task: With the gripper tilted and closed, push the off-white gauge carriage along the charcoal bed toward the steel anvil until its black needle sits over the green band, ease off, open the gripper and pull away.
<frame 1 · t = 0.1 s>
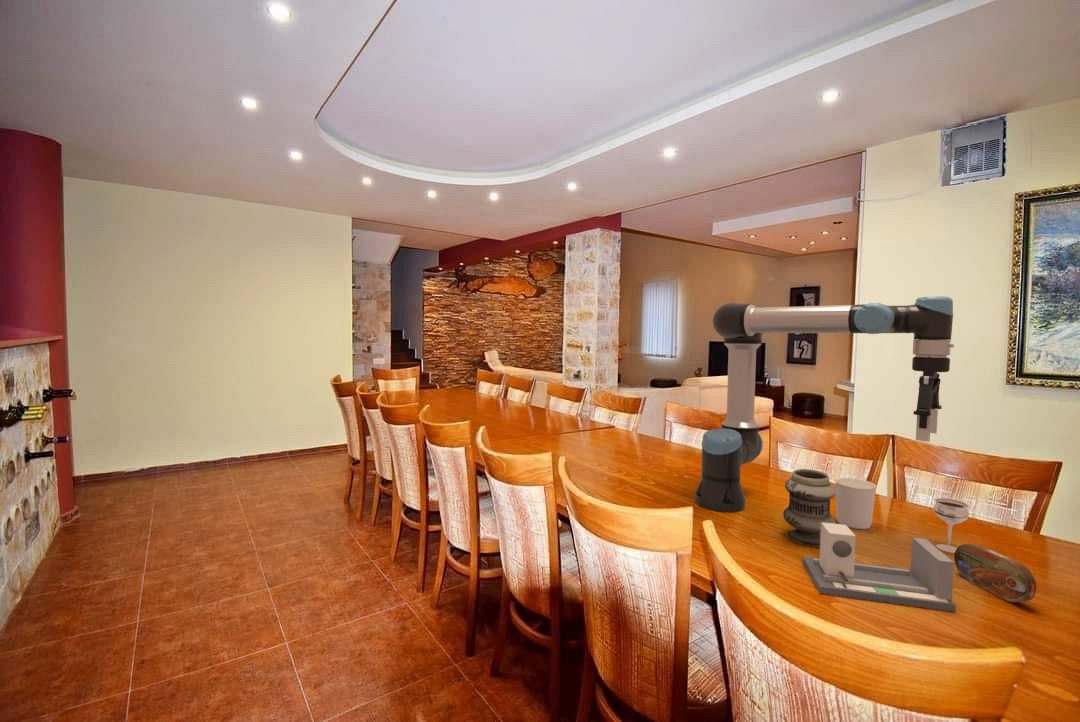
hand: (926, 436, 123), 28 cm above the table, tool pointing down, fingers open, 13 cm apart
tin: (991, 591, 101), on the table
gauge bed: (871, 584, 103), on the table
wineglass: (948, 549, 120), on the table
candle holder: (853, 523, 136), on the table
gauge carriage: (839, 554, 103), point 7 cm above the table, slide at 0.0 cm
apothecary jar: (807, 539, 126), on the table
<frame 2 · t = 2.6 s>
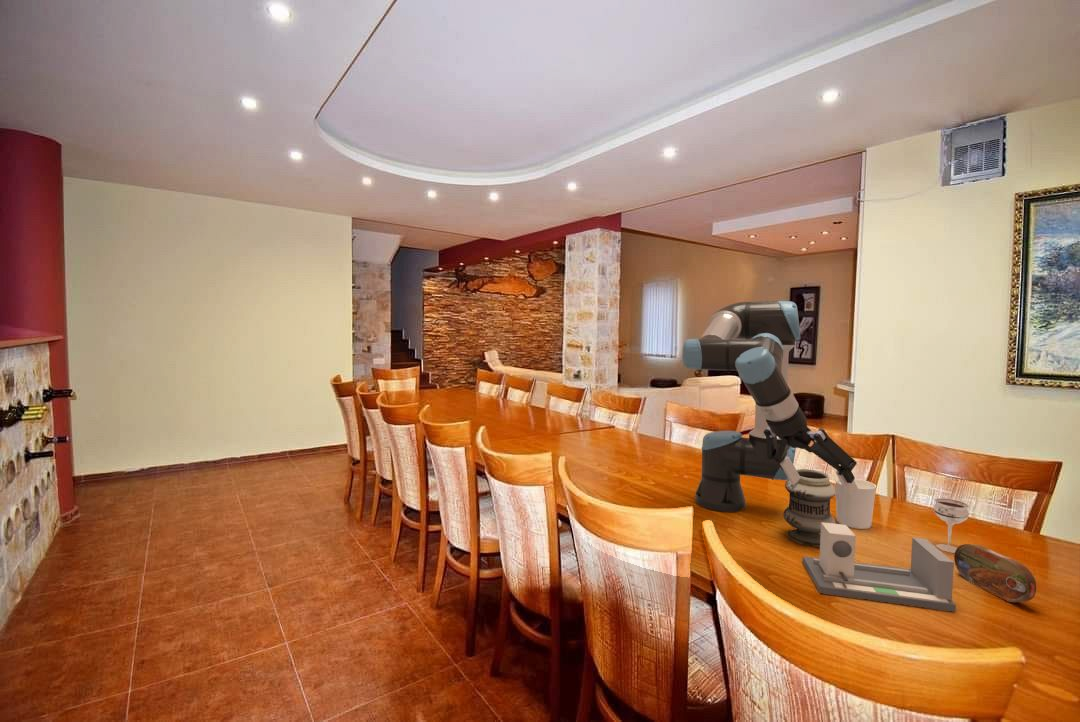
hand: (823, 486, 107), 20 cm above the table, tool tilted 35°, fingers open, 13 cm apart
nothing on the table moved.
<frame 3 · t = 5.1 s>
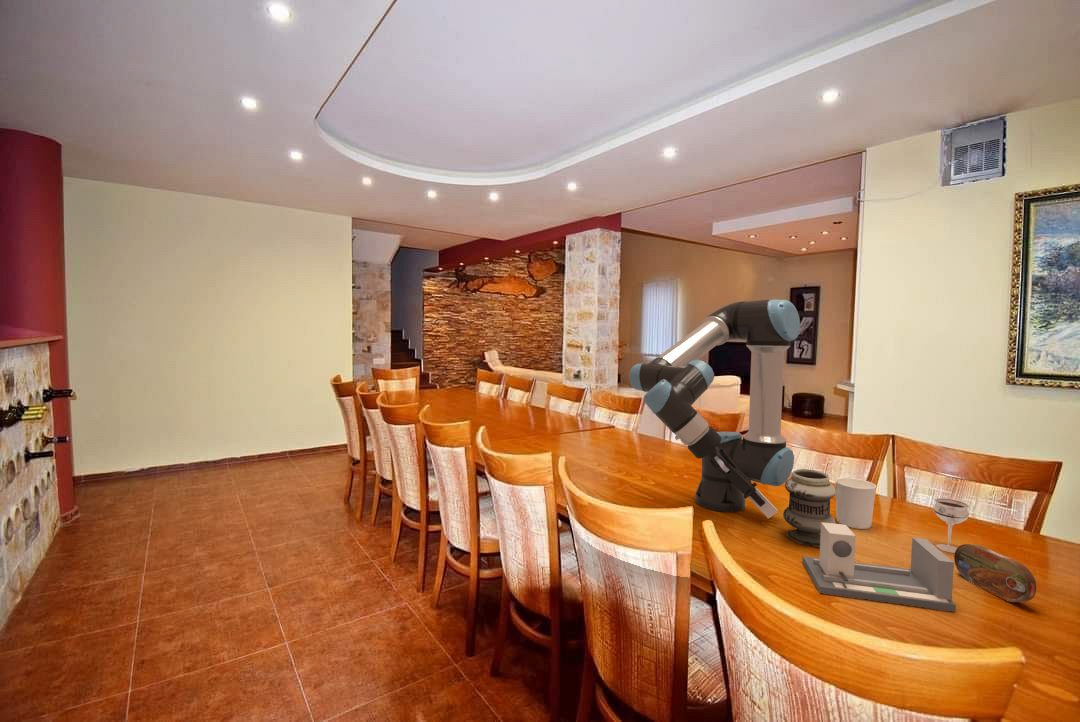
hand: (772, 513, 107), 14 cm above the table, tool tilted 45°, fingers closed
nothing on the table moved.
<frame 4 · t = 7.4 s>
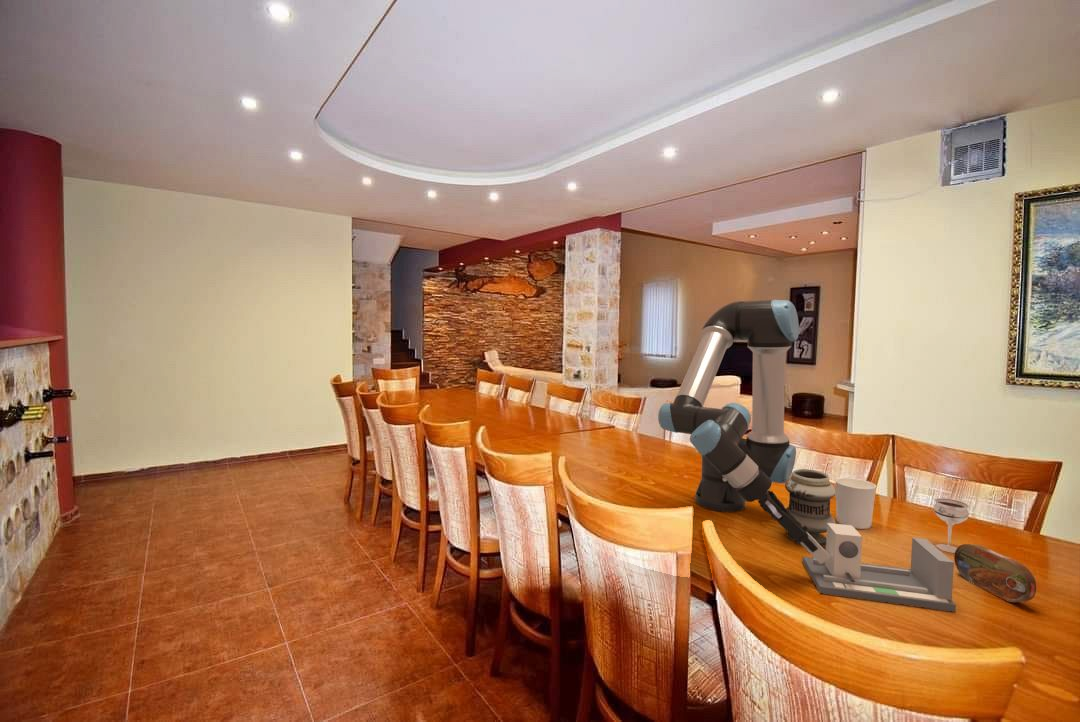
hand: (824, 559, 105), 5 cm above the table, tool tilted 45°, fingers closed
gauge carriage: (845, 554, 102), point 7 cm above the table, slide at 1.2 cm, touching gripper
everything else where it was.
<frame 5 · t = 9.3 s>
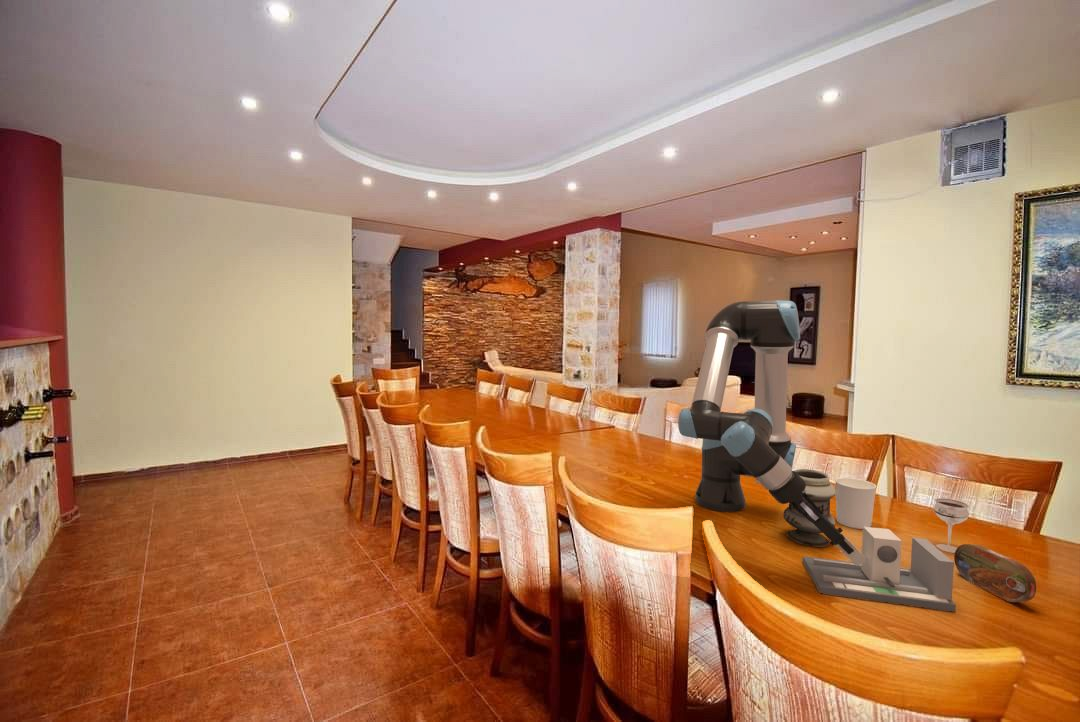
hand: (860, 561, 103), 5 cm above the table, tool tilted 45°, fingers closed
gauge carriage: (883, 559, 100), point 7 cm above the table, slide at 8.4 cm, touching gripper
everything else where it was.
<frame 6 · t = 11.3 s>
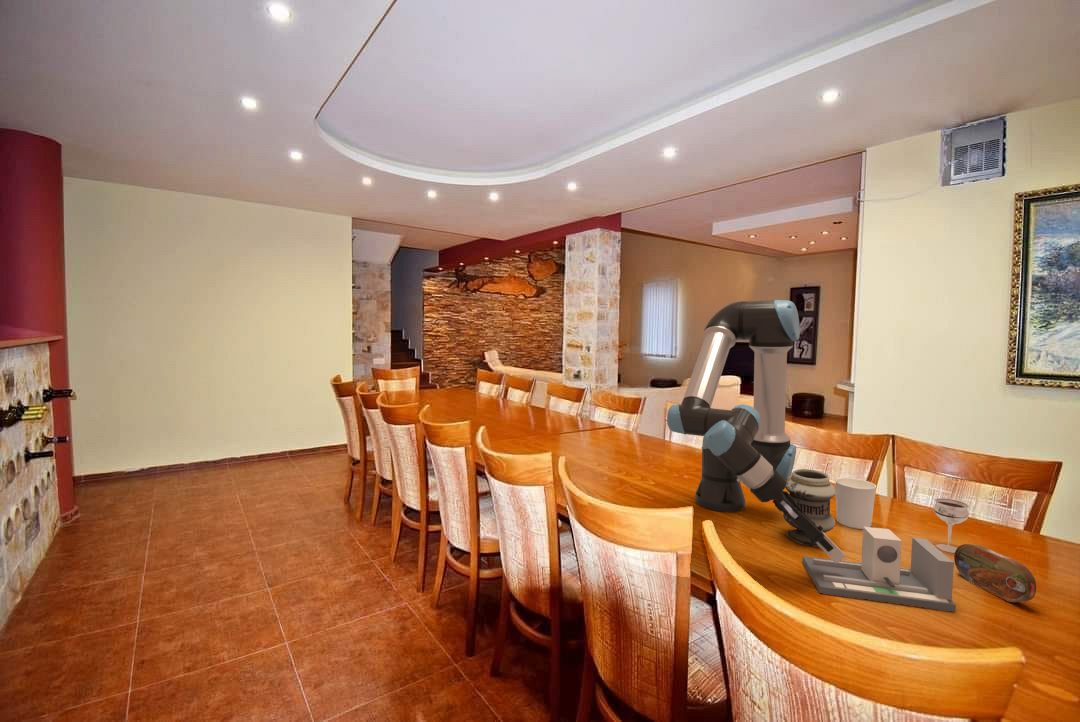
hand: (840, 558, 104), 5 cm above the table, tool tilted 45°, fingers closed
gauge carriage: (883, 559, 100), point 7 cm above the table, slide at 8.4 cm
everything else where it was.
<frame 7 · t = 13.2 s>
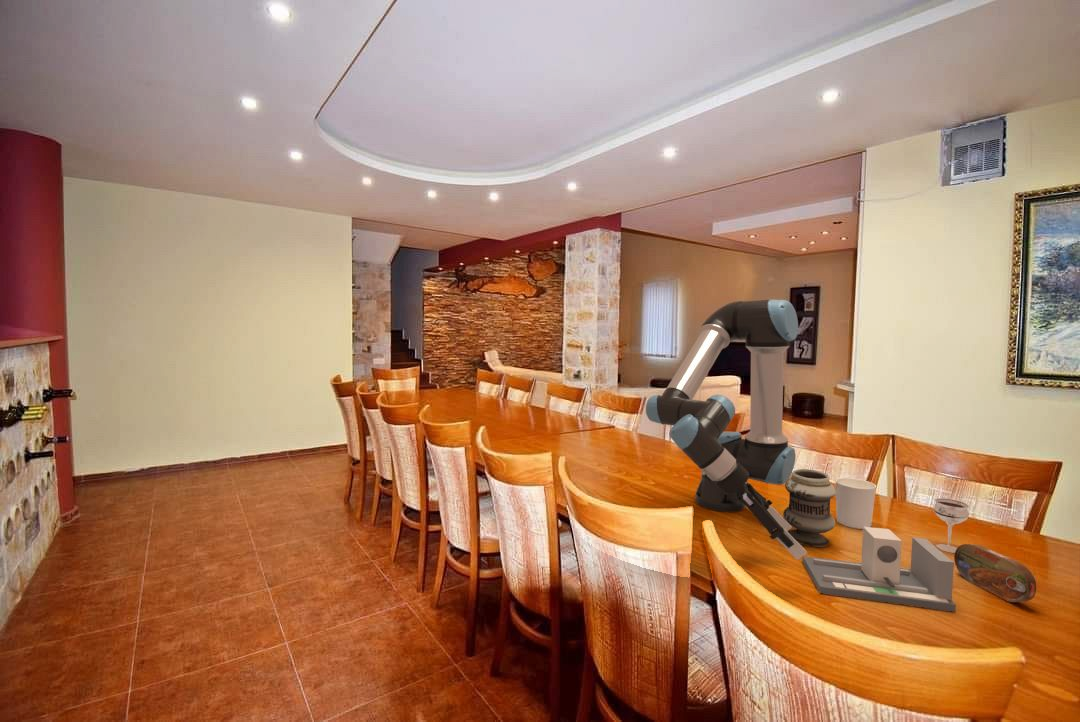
hand: (794, 542, 107), 8 cm above the table, tool tilted 45°, fingers open, 13 cm apart
nothing on the table moved.
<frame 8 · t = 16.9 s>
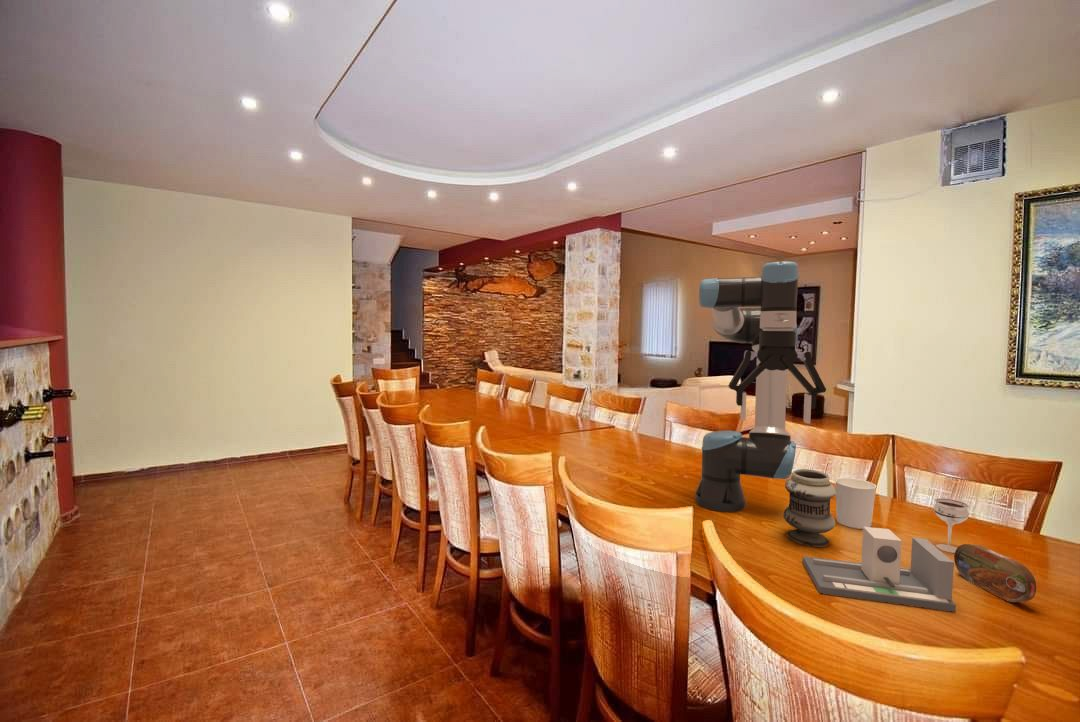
hand: (774, 421, 109), 35 cm above the table, tool pointing down, fingers open, 13 cm apart
nothing on the table moved.
at the end: gauge carriage slide at 8.4 cm; apothecary jar moved 0.2 cm from its start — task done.
